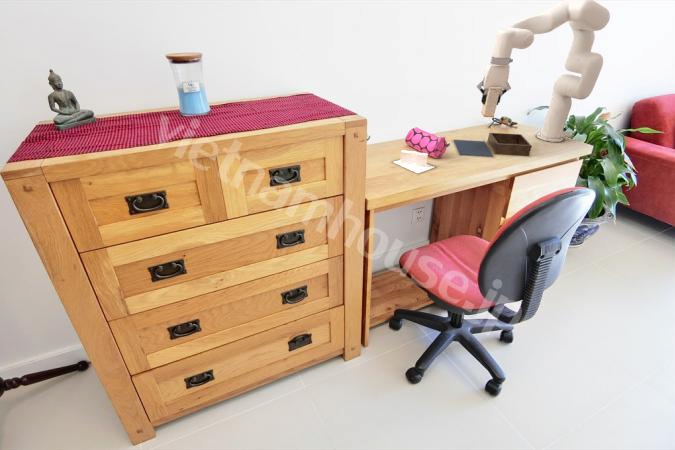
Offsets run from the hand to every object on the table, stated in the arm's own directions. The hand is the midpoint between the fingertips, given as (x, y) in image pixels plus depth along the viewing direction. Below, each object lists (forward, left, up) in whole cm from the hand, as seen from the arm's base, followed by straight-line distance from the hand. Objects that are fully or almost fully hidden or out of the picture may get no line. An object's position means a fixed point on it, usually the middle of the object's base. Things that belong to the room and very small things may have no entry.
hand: (489, 103), depth 170 cm
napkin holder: (+33, +25, -22) cm, 47 cm away
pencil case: (+27, +8, -22) cm, 36 cm away
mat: (+3, 0, -22) cm, 22 cm away
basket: (-14, -2, -22) cm, 26 cm away
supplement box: (0, 0, -5) cm, 5 cm away
